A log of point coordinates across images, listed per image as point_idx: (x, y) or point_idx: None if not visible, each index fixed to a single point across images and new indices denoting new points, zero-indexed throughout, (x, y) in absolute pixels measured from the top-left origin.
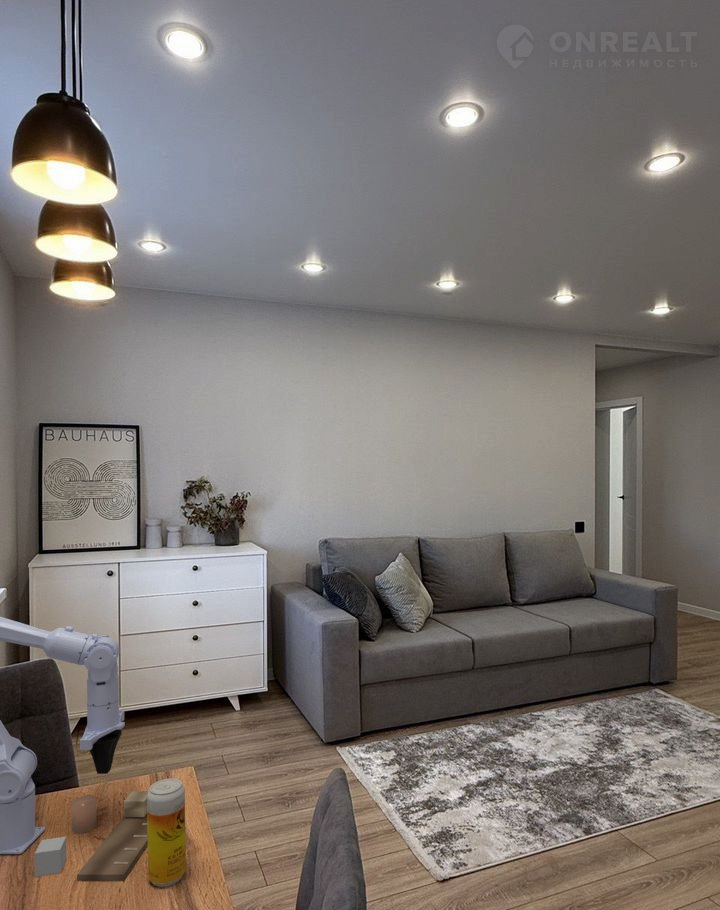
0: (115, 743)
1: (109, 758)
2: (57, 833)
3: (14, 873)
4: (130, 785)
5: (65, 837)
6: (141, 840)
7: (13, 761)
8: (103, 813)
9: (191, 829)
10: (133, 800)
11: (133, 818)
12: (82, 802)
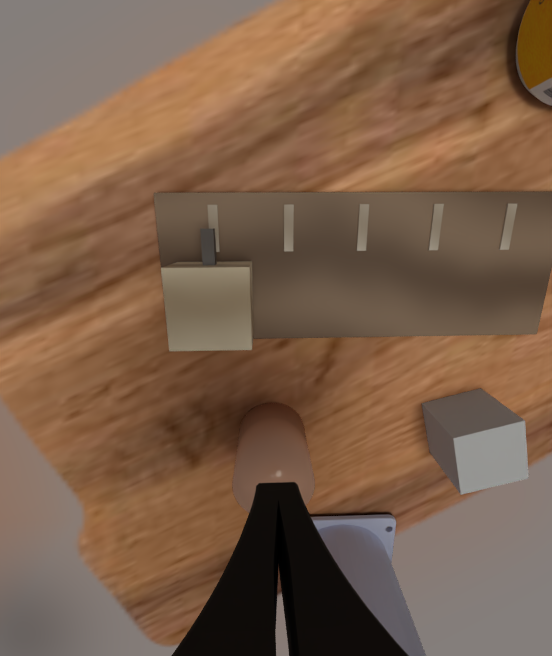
0: (252, 646)
1: (314, 549)
2: None
3: None
4: (18, 409)
5: (459, 437)
6: (386, 212)
7: None
8: (197, 413)
9: (285, 54)
10: (242, 314)
11: None
12: None
